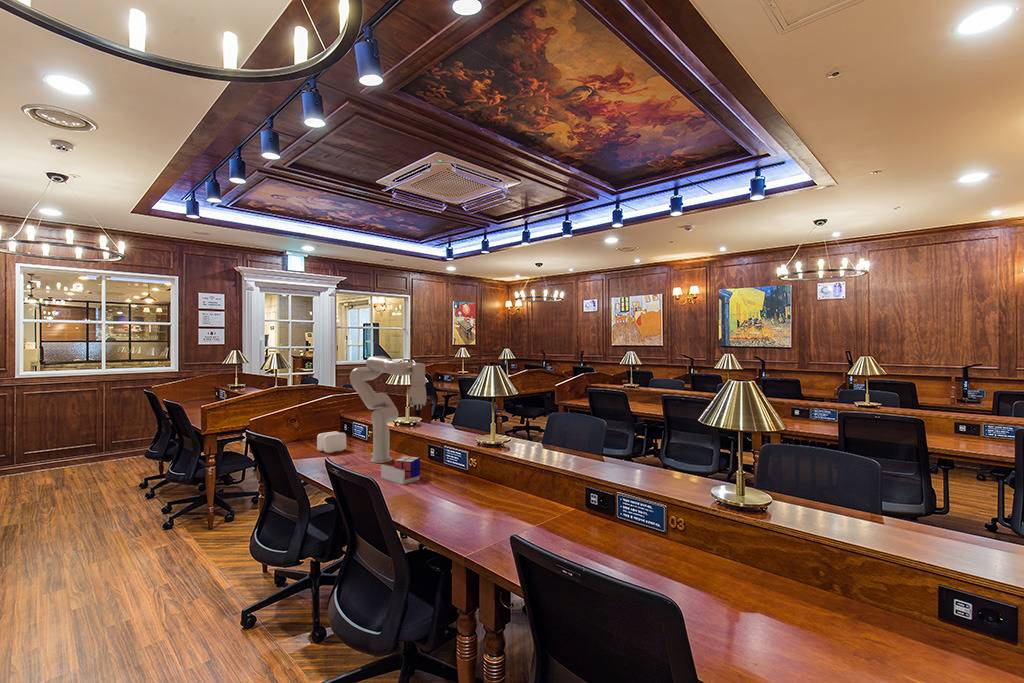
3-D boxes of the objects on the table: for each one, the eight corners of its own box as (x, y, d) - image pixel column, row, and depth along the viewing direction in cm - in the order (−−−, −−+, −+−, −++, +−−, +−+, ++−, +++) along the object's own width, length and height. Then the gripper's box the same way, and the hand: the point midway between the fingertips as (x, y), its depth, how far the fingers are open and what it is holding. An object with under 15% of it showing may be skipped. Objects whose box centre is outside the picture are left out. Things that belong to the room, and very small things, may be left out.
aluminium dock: (381, 477, 245) (381, 464, 245) (398, 473, 254) (398, 460, 254) (402, 484, 234) (402, 470, 234) (419, 479, 242) (419, 466, 242)
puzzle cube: (411, 481, 239) (411, 462, 239) (393, 479, 242) (393, 460, 242) (420, 476, 249) (420, 457, 249) (403, 474, 252) (403, 455, 252)
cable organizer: (323, 454, 294) (324, 436, 294) (316, 451, 301) (316, 433, 301) (346, 450, 305) (346, 432, 305) (338, 447, 312) (338, 430, 312)
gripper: (423, 383, 276) (423, 414, 276) (403, 384, 264) (403, 417, 264) (432, 384, 271) (431, 415, 271) (412, 386, 259) (411, 418, 259)
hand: (417, 416), depth 268 cm, fingers closed
